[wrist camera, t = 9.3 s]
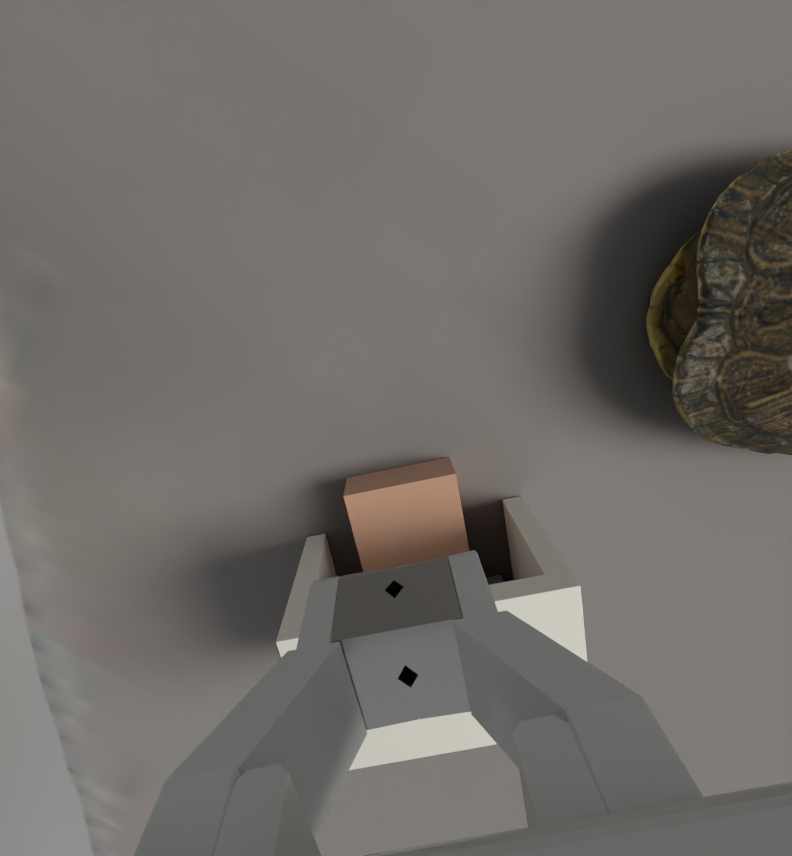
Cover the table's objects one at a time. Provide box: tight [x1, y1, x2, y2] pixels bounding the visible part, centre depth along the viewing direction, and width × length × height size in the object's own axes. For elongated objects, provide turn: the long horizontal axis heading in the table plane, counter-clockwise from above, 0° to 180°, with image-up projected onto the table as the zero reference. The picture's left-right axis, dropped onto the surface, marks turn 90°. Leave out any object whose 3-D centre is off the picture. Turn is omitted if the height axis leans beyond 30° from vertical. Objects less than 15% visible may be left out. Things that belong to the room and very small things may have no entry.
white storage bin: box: [276, 496, 587, 770], centre depth 26 cm, size 8×14×9 cm, turn 101°
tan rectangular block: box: [343, 457, 469, 572], centre depth 29 cm, size 9×6×3 cm
